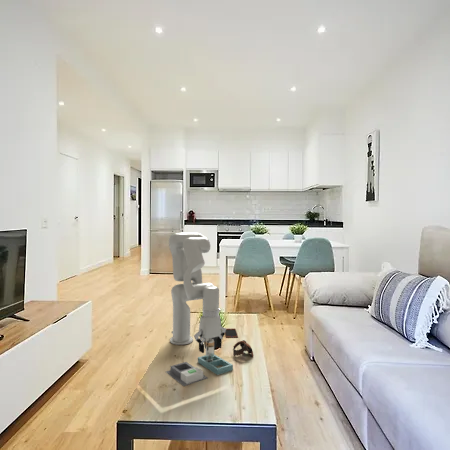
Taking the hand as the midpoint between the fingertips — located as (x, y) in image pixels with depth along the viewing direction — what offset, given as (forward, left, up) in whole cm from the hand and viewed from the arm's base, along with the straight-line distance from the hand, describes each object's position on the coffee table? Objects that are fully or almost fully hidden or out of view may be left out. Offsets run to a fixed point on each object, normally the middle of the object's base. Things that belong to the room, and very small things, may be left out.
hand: (210, 349), depth 163 cm
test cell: (0, 0, -7) cm, 7 cm away
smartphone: (-29, +35, -8) cm, 46 cm away
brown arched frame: (0, +21, -8) cm, 22 cm away
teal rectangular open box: (+4, 0, -8) cm, 8 cm away
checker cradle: (+4, -15, -8) cm, 17 cm away
